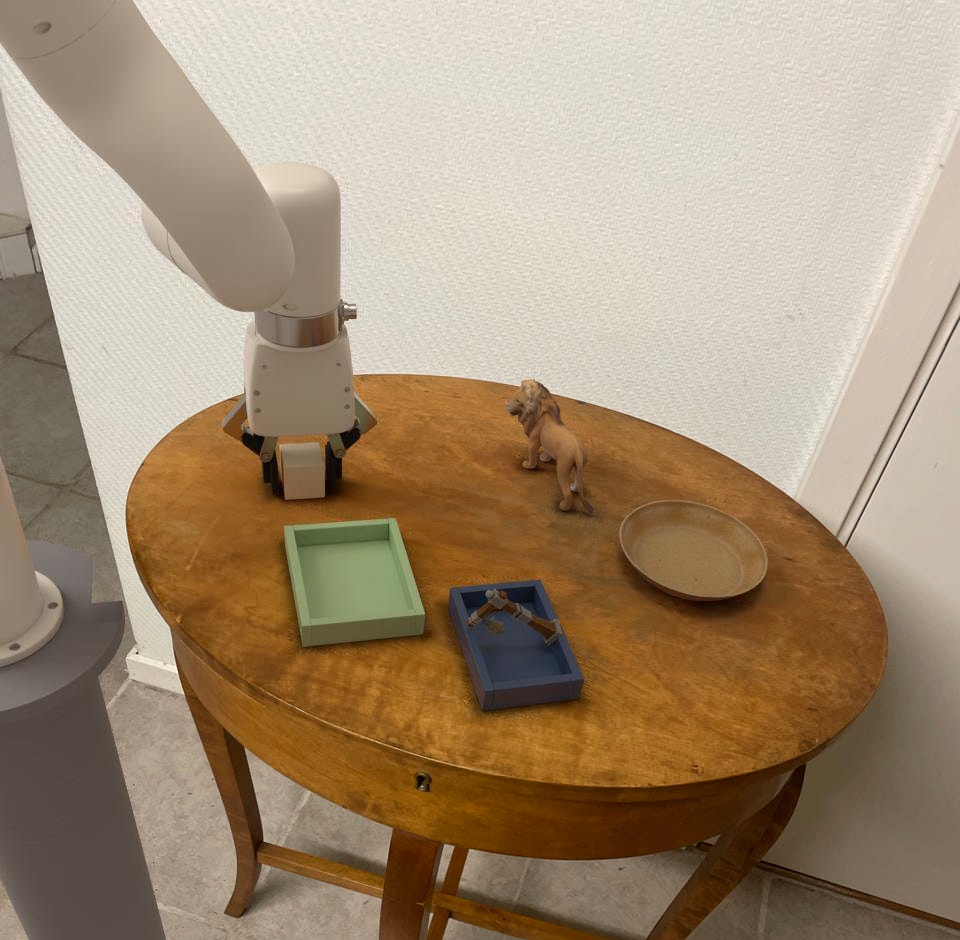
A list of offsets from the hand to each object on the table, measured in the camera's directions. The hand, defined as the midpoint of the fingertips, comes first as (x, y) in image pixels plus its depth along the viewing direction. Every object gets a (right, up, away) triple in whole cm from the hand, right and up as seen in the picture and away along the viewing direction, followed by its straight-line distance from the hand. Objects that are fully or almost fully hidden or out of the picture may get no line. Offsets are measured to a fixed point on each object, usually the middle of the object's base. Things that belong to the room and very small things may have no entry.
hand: (302, 483), depth 97 cm
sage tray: (+6, -11, -10) cm, 16 cm away
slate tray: (+21, -17, -13) cm, 30 cm away
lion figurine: (+25, +2, +6) cm, 26 cm away
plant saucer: (+39, -9, -2) cm, 40 cm away
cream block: (0, 0, 0) cm, 0 cm away
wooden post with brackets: (+21, -16, -15) cm, 30 cm away
